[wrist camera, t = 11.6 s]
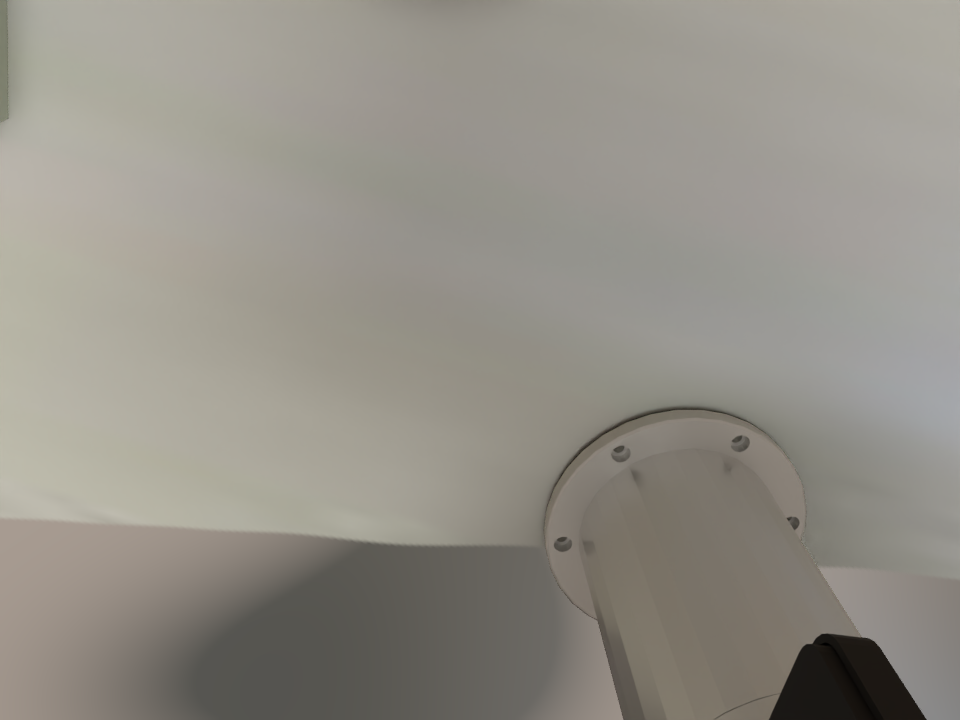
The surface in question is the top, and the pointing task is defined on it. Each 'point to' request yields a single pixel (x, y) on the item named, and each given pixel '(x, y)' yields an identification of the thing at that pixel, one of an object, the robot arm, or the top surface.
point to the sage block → (3, 61)
